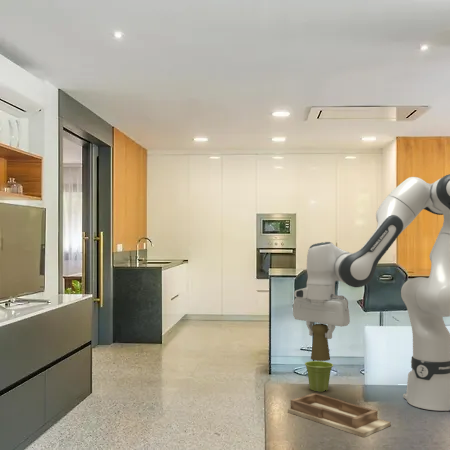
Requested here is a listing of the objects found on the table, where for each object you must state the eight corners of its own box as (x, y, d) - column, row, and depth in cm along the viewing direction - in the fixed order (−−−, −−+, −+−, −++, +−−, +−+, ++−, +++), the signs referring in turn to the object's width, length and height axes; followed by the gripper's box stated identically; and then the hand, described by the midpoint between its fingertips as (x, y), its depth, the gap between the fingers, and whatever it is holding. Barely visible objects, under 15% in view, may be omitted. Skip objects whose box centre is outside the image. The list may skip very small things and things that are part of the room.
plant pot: (304, 385, 190) (304, 360, 190) (332, 386, 189) (332, 361, 189) (304, 392, 181) (305, 366, 181) (333, 394, 179) (333, 367, 179)
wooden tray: (315, 403, 169) (315, 392, 169) (390, 425, 150) (390, 412, 150) (287, 412, 160) (288, 400, 161) (363, 437, 141) (363, 423, 141)
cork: (329, 361, 169) (329, 325, 169) (310, 360, 170) (310, 325, 170) (330, 357, 174) (330, 322, 175) (311, 356, 176) (311, 322, 176)
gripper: (354, 295, 167) (353, 340, 167) (302, 290, 182) (302, 331, 182) (341, 296, 163) (341, 343, 162) (290, 291, 178) (290, 333, 178)
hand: (320, 337), depth 172 cm, fingers closed on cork, 5 cm apart
